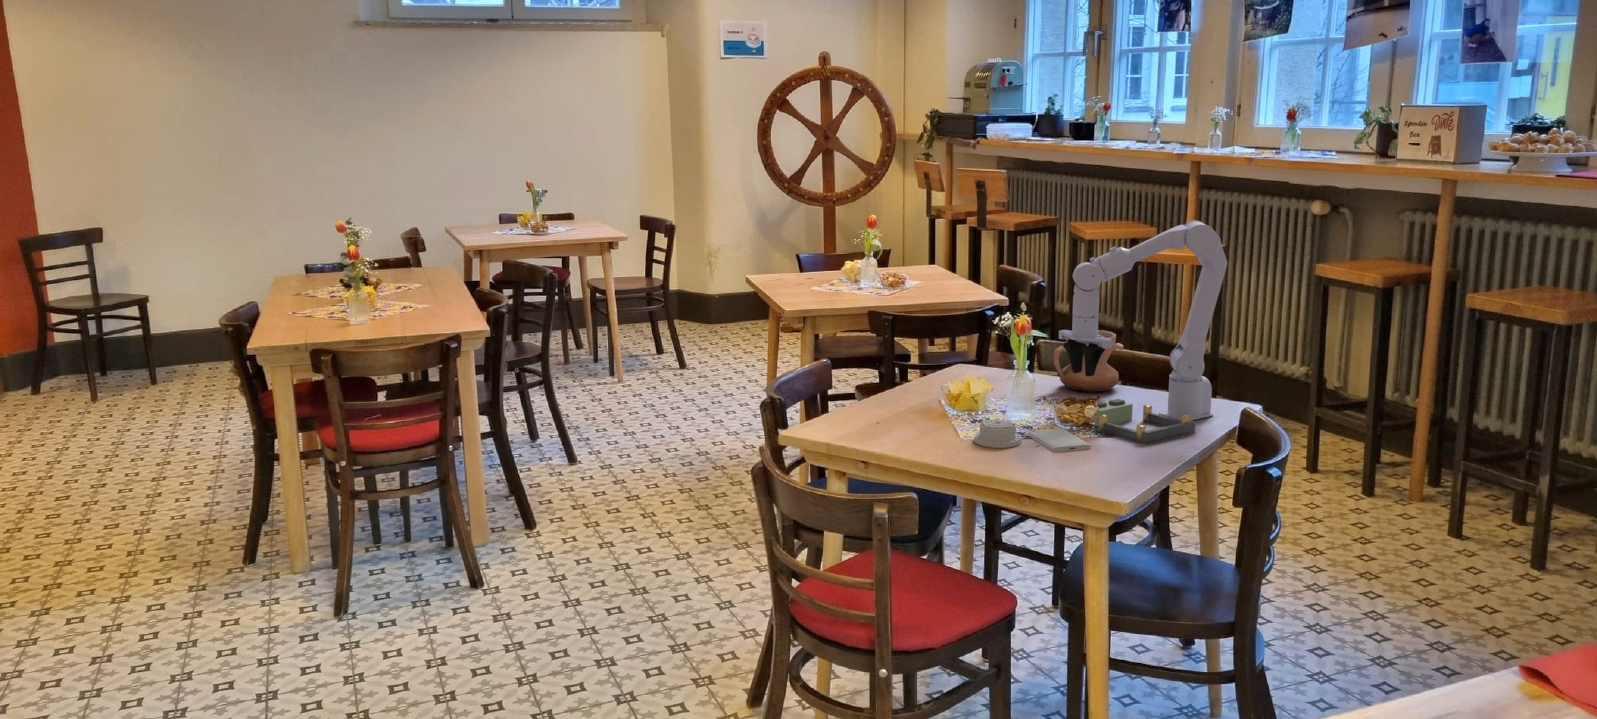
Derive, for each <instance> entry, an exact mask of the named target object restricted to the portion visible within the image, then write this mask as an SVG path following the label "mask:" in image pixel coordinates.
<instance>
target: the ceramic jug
mask: <svg viewBox="0 0 1597 719" xmlns="http://www.w3.org/2000/svg"><path fill="white" fill-rule="evenodd" d="M1098 335H1100V336H1103V337H1106V338H1109V339H1112V347H1111V348H1106V349H1105V351H1104V352H1103V354H1102V355H1101V357H1100V359H1099V361H1098V364H1097V367H1096V370H1095V374H1094V376H1089V377H1088V376H1086V374H1085V358H1084V355H1083V363H1082V371H1081V372H1080V373H1073V371H1072V366H1071V363H1069V364H1068V365H1066V366H1064V367H1063V368H1062V366H1061V363H1060V357H1061V354H1062V353H1064V352H1065V353H1067V351H1066V349H1065V348H1064V345H1060V346H1058V347H1057V348H1056V349H1055V350H1054V353H1053V356H1052V358H1053V365H1054V367H1055V369H1056V371H1057V372H1058V375H1059V381H1060V382H1061V383H1062V384H1063V385H1064V386H1066V387H1068V388H1069V389H1073V390H1076V391H1080V392H1085V393H1086V392H1087V393H1088V392H1093V393H1097V392H1104V391H1107V390H1110V389H1113V388H1114V387H1115V386H1116V385H1117V384H1118V383H1119V378H1120V376H1119V371H1117V370H1116V369H1115V368H1114V367H1113V366H1111V365H1109V364H1108V359H1109V358H1110V356H1111V354H1112V352H1113V351H1115V350H1117V349H1118V350H1123V349H1124V345H1123V344H1122V343H1119V342H1117V343H1116V339H1117V334H1116V333H1114V332H1112V331H1107V330H1104V329H1103V330H1100V329H1098ZM1067 341H1068V340H1066V339H1065V343H1067ZM1086 346H1089V344H1086ZM1067 354H1068V353H1067Z"/></svg>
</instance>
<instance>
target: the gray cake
mask: <svg viewBox="0 0 1597 719" xmlns="http://www.w3.org/2000/svg"><path fill="white" fill-rule="evenodd" d="M1016 427H1017V425H1016V422H1012V420H1008V419H1004V418H1003V419H1001V418H999V419H998V418H993V419H986V420H983V421H981V423H979V431H978V432H976V433H974V435H973V442H974V443H975V444H976V445H979V446H980V447H981V446H982V447H986V448H992V449H993V448H994V449H1006V448H1007V449H1008V448H1012V447H1013V448H1014V447H1017V446H1019V445H1021V444H1022V436H1021V435H1020V434H1019V433H1016V432H1017V428H1016Z"/></svg>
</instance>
